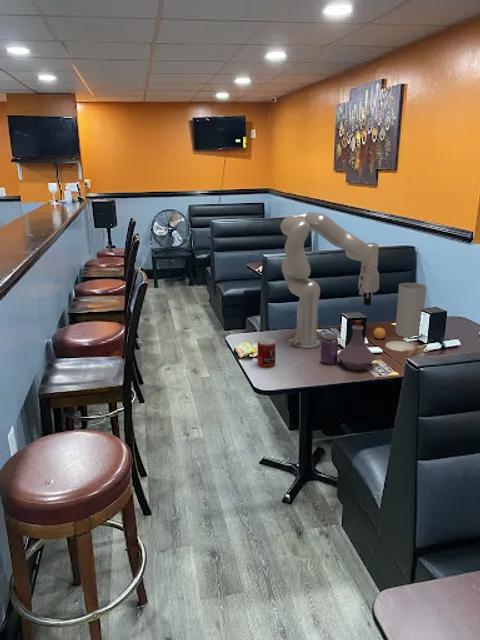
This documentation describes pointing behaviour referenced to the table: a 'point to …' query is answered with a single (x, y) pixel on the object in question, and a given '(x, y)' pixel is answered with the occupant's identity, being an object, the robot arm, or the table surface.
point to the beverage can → (329, 349)
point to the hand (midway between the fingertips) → (367, 304)
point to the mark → (399, 345)
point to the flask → (356, 350)
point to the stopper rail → (414, 350)
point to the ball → (379, 333)
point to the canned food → (266, 352)
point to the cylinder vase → (409, 309)
